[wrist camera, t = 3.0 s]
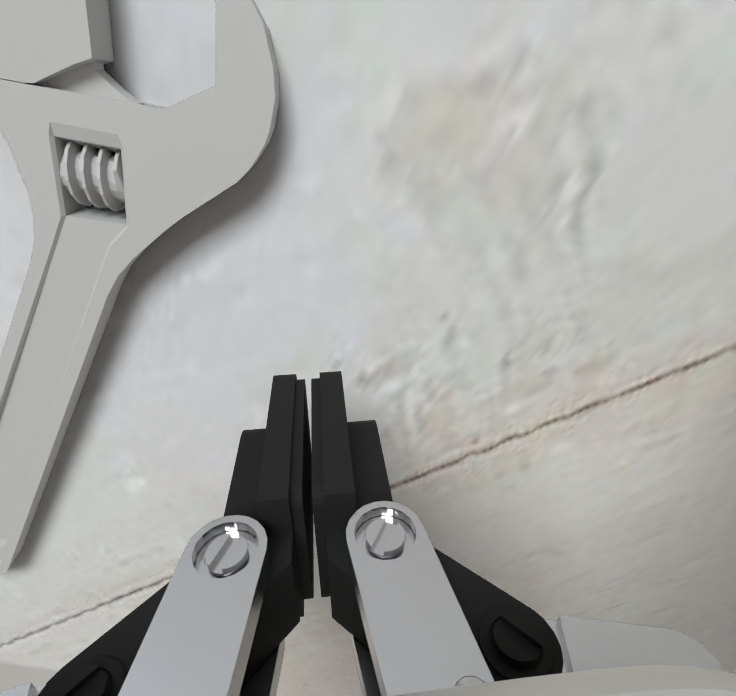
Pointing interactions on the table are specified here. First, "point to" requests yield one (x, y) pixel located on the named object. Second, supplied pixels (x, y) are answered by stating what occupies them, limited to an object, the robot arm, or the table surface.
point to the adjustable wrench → (101, 201)
